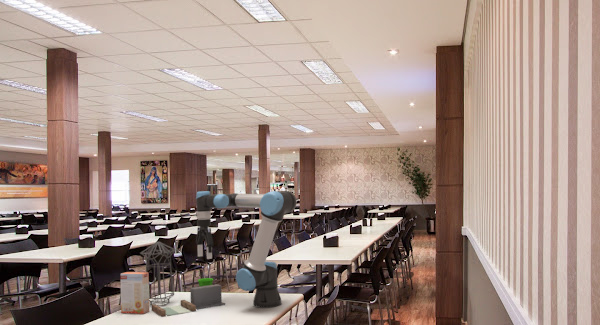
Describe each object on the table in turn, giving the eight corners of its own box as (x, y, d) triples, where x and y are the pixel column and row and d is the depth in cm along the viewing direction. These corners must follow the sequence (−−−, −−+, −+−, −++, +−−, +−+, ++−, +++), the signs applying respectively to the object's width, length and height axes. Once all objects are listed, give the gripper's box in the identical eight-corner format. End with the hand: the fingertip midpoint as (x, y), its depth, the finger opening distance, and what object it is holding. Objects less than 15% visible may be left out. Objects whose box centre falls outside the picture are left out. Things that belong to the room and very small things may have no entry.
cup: (210, 300, 293) (210, 280, 294) (195, 300, 295) (195, 281, 296) (216, 296, 302) (215, 278, 303) (201, 296, 304) (201, 278, 304)
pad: (190, 312, 266) (190, 311, 266) (167, 315, 260) (167, 315, 260) (178, 306, 282) (178, 305, 282) (157, 309, 275) (157, 308, 275)
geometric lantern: (165, 307, 278) (163, 243, 280) (139, 307, 283) (138, 243, 284) (179, 301, 294) (177, 240, 295) (154, 300, 298) (153, 240, 299)
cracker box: (150, 311, 271) (149, 271, 272) (143, 314, 266) (142, 273, 267) (128, 310, 276) (127, 271, 277) (120, 313, 270) (119, 273, 271)
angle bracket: (218, 302, 289) (217, 284, 289) (225, 305, 280) (224, 286, 281) (190, 306, 280) (190, 288, 281) (197, 309, 272) (196, 290, 272)
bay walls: (195, 311, 268) (195, 305, 268) (161, 316, 258) (161, 310, 259) (184, 305, 283) (184, 299, 283) (151, 310, 274) (151, 304, 274)
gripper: (189, 218, 293) (190, 256, 292) (205, 220, 272) (207, 260, 271) (201, 217, 297) (202, 254, 296) (219, 219, 276) (220, 259, 275)
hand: (204, 257), depth 284 cm, fingers open, 13 cm apart
